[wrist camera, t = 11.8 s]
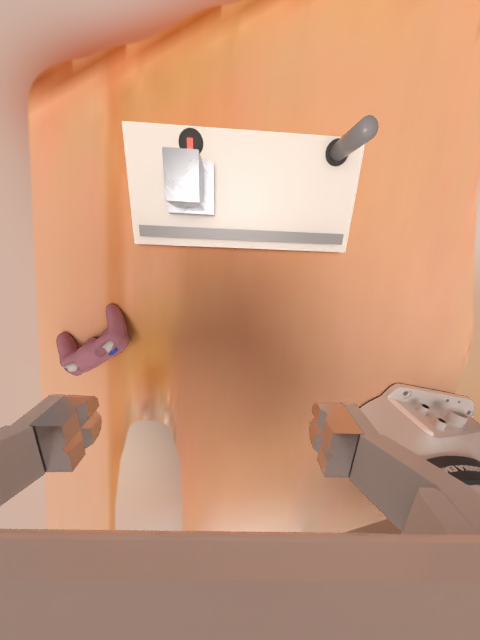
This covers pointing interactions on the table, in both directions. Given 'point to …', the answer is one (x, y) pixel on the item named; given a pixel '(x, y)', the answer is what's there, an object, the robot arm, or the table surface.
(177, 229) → the gauge board
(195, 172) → the leg
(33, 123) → the table surface
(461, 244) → the table surface
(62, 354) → the video game controller
